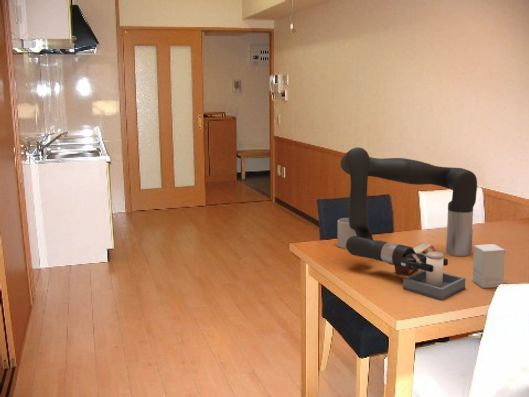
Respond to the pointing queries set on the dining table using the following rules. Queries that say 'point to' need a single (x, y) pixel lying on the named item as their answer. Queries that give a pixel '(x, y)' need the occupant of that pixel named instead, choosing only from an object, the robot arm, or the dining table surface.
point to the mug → (344, 232)
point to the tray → (449, 286)
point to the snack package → (417, 249)
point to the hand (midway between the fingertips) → (440, 265)
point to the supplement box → (488, 265)
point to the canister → (435, 269)
